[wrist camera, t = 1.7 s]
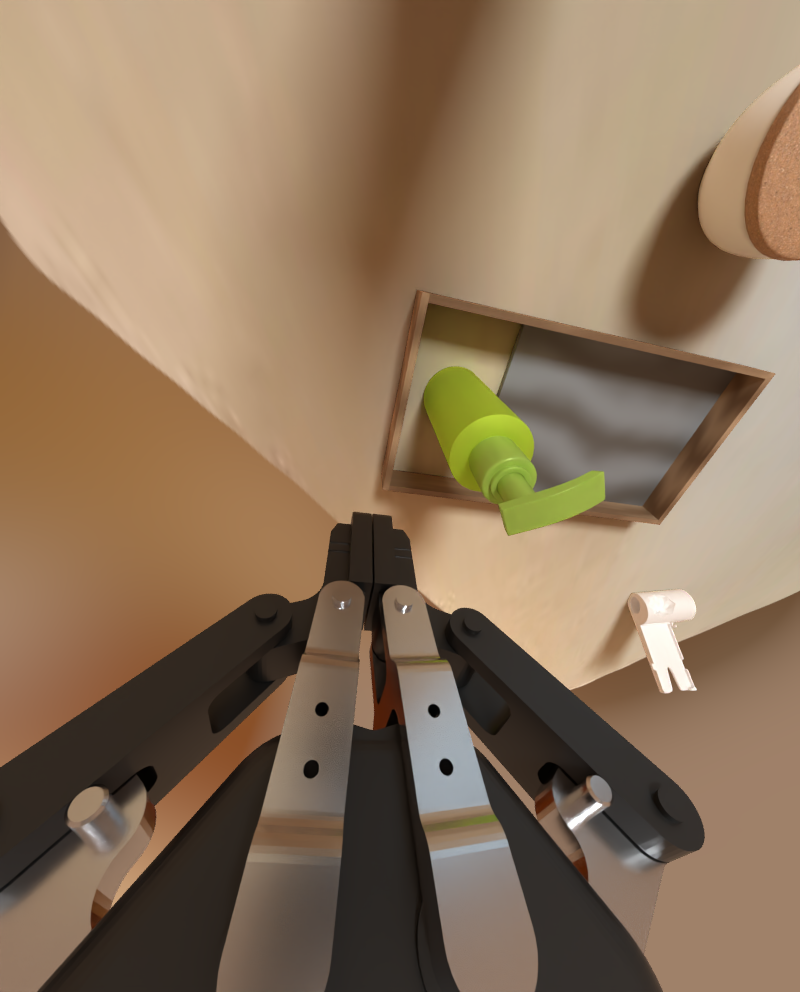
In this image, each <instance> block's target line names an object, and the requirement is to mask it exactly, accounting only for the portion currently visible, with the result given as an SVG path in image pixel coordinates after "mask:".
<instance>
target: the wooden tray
mask: <svg viewBox="0 0 800 992" xmlns="http://www.w3.org/2000/svg"><path fill="white" fill-rule="evenodd" d="M428 303H432V304H436V305H441V306H445V307H450V308H454V309H458V310H463V311H467V312H472V313H476V314H481V315H485V316H489V317H494V318H498V319H503V320H507V321H511V322H516V323H520V324H522V326H521V328H520V331H519V334H518V337H517V340H516V343H515V345H514V348H513V351H512V354H511V357H510V360H509V362H508V365H507V368H506V371H505V374H504V377H503V380H502V382H501V385H500V388H499V391H498V394H497V397H498V398H499V399H500V400H501V401H502V402H503V403H504V404H505V405H506V406H507V407H509V408H510V409H511V410H512V411H513V412H514V413H515V414H516V415H517V416H518V417H519V418H520V419H521V420H522V421H523V422H524V423H525V424H526V425H527V426H528V428H529V429H530V431H531V433H532V436H533V439H534V452H533V457H532V459H531V462H532V464H533V465H534V467H535V469H536V473H537V479H536V483H535V486H534V487H533V490H534V491H535V493H536V492H539V491H542V490H545V489H549V488H552V487H555V486H558V485H561V484H563V483H566V482H568V481H571V480H573V479H575V478H578V477H580V476H582V475H584V474H586V473H588V472H590V471H592V470H594V471H603V472H604V478H605V500H604V501H602V502H600V503H599V504H597V505H595V506H594V507H592V508H590V509H588V510H586V511H584V512H582V513H580V514H579V515H587V516H595V517H603V518H611V519H619V520H627V521H635V522H643V523H651V524H659V525H660V524H661V522H662V521H663V520H664V518H665V517H666V516H667V515H668V513H669V512H670V511H671V509H672V508H673V507H674V505H675V504H676V503H677V501H678V500H679V499H680V498H681V496H682V495H683V494H684V492H685V491H686V490H687V488H688V487H689V486H690V485H691V483H692V482H693V481H694V479H695V478H696V477H697V475H698V474H699V473H700V472H701V470H702V469H703V468H704V466H705V465H706V464H707V462H708V461H709V460H710V458H711V457H712V456H713V455H714V453H715V452H716V451H717V449H718V448H719V447H720V445H721V444H722V443H723V442H724V440H725V439H726V438H727V436H728V435H729V434H730V432H731V431H732V430H733V429H734V427H735V426H736V425H737V423H738V422H739V421H740V419H741V418H742V417H743V416H744V414H745V413H746V412H747V410H748V409H749V408H750V406H751V405H752V404H753V402H754V401H755V400H756V399H757V397H758V396H759V395H760V393H761V392H762V391H763V389H764V388H765V387H766V386H767V384H768V383H769V382H770V380H771V379H772V378H773V376H774V375H775V373H771V372H767V371H763V370H759V369H755V368H752V367H748V366H744V365H740V364H735V363H731V362H727V361H722V360H718V359H714V358H709V357H705V356H701V355H696V354H692V353H688V352H683V351H679V350H675V349H670V348H666V347H662V346H657V345H653V344H649V343H644V342H640V341H636V340H632V339H627V338H623V337H619V336H614V335H610V334H606V333H601V332H597V331H593V330H588V329H584V328H580V327H575V326H571V325H567V324H562V323H558V322H554V321H549V320H545V319H541V318H536V317H532V316H528V315H523V314H519V313H515V312H511V311H506V310H502V309H498V308H493V307H489V306H485V305H480V304H476V303H472V302H467V301H463V300H459V299H454V298H450V297H446V296H441V295H437V294H433V293H428V292H424V291H420V290H417V293H416V298H415V303H414V308H413V313H412V319H411V324H410V329H409V334H408V339H407V344H406V350H405V355H404V360H403V365H402V370H401V376H400V381H399V386H398V391H397V396H396V402H395V407H394V412H393V417H392V422H391V427H390V433H389V438H388V443H387V448H386V453H385V459H384V464H383V469H382V486H383V490H388V491H396V492H404V493H412V494H420V495H428V496H436V497H444V498H452V499H460V500H468V501H476V502H484V503H492V502H490V501H488V500H487V499H486V498H485V497H484V495H483V493H482V492H479V491H473V490H470V489H468V488H466V487H464V486H462V485H461V484H460V483H458V482H457V480H456V479H455V478H448V477H441V476H434V475H427V474H419V473H412V472H405V471H397V470H393V467H394V462H395V457H396V452H397V448H398V443H399V438H400V433H401V429H402V424H403V419H404V415H405V410H406V405H407V400H408V396H409V391H410V386H411V381H412V377H413V372H414V367H415V363H416V358H417V353H418V348H419V344H420V339H421V334H422V329H423V325H424V320H425V315H426V311H427V306H428ZM492 504H494V503H492Z"/></svg>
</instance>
